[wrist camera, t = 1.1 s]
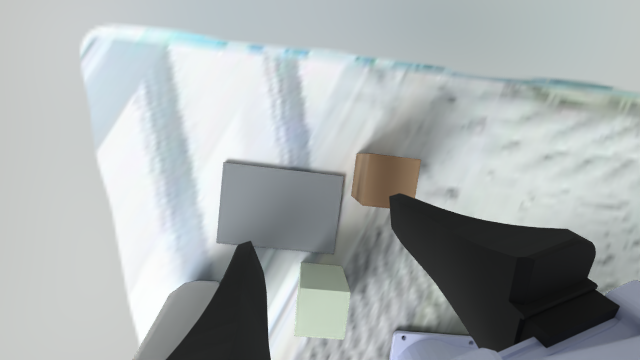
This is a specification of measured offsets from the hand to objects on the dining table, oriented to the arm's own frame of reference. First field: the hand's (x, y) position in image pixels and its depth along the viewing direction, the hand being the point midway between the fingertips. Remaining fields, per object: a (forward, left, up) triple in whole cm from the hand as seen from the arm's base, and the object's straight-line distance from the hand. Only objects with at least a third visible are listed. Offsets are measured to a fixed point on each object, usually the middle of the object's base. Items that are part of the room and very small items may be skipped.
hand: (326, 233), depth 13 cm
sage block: (-1, +9, -12) cm, 15 cm away
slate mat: (+3, +2, -12) cm, 12 cm away
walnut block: (-5, -2, -12) cm, 13 cm away
